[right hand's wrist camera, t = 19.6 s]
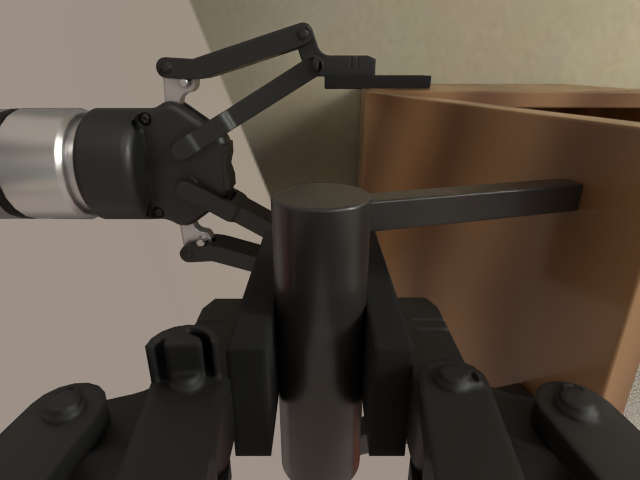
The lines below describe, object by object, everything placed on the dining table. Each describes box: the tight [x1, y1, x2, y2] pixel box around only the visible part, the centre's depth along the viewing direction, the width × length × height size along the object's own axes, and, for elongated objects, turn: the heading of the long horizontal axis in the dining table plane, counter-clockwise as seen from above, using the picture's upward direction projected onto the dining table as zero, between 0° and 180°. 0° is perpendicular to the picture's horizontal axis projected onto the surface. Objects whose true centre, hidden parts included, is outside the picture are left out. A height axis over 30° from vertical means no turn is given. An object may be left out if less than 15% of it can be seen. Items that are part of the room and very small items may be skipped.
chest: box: [358, 84, 640, 189], centre depth 31 cm, size 16×10×11 cm, turn 90°
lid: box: [271, 91, 640, 480], centre depth 17 cm, size 17×10×9 cm
